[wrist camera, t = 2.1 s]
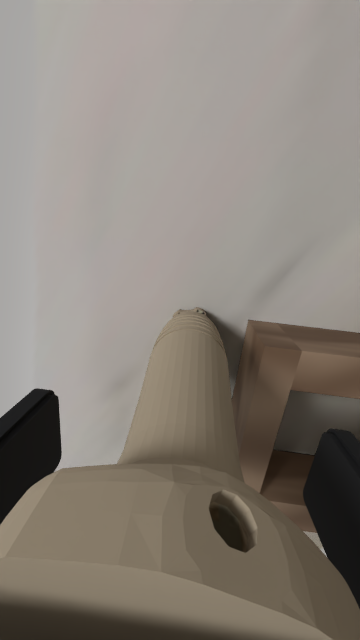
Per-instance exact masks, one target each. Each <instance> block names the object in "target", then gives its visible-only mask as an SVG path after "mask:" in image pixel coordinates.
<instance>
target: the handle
mask: <svg viewBox="0 0 360 640" xmlns="http://www.w3.org/2000/svg"><path fill="white" fill-rule="evenodd" d="M0 640H360V609H359V607H358V604H357V602H356V600H355V598H354V596H353V594H352V592H351V590H350V588H349V586H348V584H347V583H346V581H345V580H344V578H343V576H342V575H341V574H340V573H339V571H338V570H337V569H336V568H335V567H334V565H333V564H332V563H331V562H330V560H329V559H328V558H327V557H326V556H325V555H324V554H323V553H322V551H321V550H320V549H319V548H318V547H317V546H316V545H315V543H314V542H313V541H312V540H311V539H310V538H309V537H308V536H307V535H306V534H305V533H304V532H303V531H302V530H301V529H300V528H299V527H298V526H297V525H296V524H295V523H294V522H293V521H292V520H290V519H289V518H288V517H287V516H286V515H285V514H284V513H283V512H281V511H280V510H279V509H278V508H277V507H276V506H275V505H274V504H272V503H271V502H270V501H268V500H267V499H266V498H265V497H263V496H262V495H261V494H260V493H258V492H257V491H256V490H254V489H253V488H252V487H251V486H249V485H247V484H245V482H244V479H243V475H242V471H241V467H240V460H239V453H238V445H237V437H236V430H235V422H234V414H233V407H232V398H231V388H230V379H229V369H228V360H227V356H226V352H225V348H224V345H223V341H222V339H221V337H220V334H219V332H218V330H217V328H216V326H215V325H214V324H213V322H212V321H211V320H210V319H209V318H208V317H207V316H206V312H205V311H204V310H203V309H201V308H198V307H196V308H195V309H193V310H181V309H180V310H178V311H177V312H176V313H175V314H174V315H173V318H172V319H171V320H170V321H169V322H168V323H167V325H166V326H165V327H164V328H163V330H162V332H161V333H160V335H159V337H158V339H157V341H156V343H155V345H154V348H153V351H152V353H151V356H150V360H149V363H148V367H147V371H146V375H145V378H144V382H143V386H142V390H141V393H140V397H139V400H138V404H137V407H136V410H135V414H134V417H133V420H132V424H131V427H130V430H129V433H128V437H127V440H126V443H125V447H124V450H123V452H122V455H121V457H120V459H119V461H118V463H117V464H114V465H99V466H85V467H74V468H62V469H60V470H58V471H56V472H54V473H52V474H50V475H48V476H46V477H44V478H43V479H41V480H40V481H38V482H37V483H35V484H34V485H33V486H31V487H30V488H29V489H28V490H27V491H26V493H25V494H24V495H23V496H22V497H21V499H20V500H19V501H18V502H17V504H16V505H15V506H14V507H13V509H12V510H11V511H10V513H9V514H8V515H7V516H6V518H5V519H4V520H3V522H2V523H1V525H0Z"/></svg>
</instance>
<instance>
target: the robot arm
mask: <svg viewBox="0 0 360 640" xmlns="http://www.w3.org/2000/svg"><path fill="white" fill-rule="evenodd" d="M60 459H61V435H60V418H59V400H58V396H56V395H55V394H54V392H53V391H52V390H45V389H34V390H32V391H31V392H30V393H29V394H28V395H27V396H25V397H24V398H23V399H22V400H21V401H20V402H18V403H17V404H16V405H15V406H14V407H13V408H11V409H10V410H9V411H8V412H7V413H6V414H4V415H3V416H2V417H1V418H0V525H1V523H2V522H3V520H4V519H5V518H6V516H7V515H8V514H9V513H10V511H11V510H12V509H13V507H14V506H15V505H16V504H17V502H18V501H19V500H20V499H21V497H22V496H23V495H24V494H25V493H26V491H27V490H28V489H29V488H30V487H31V486H33V485H34V484H35V483H37V482H38V481H40V480H41V479H43V478H44V477H46V476H48V475H50V474H52V473H53V472H54V471H55V469H56V468H57V466H58V464H59V462H60ZM303 498H304V502H305V505H306V507H307V509H308V512H309V514H310V517H311V519H312V521H313V524H314V526H315V529H316V531H317V533H318V536H319V538H320V541H321V543H322V545H323V548H324V550H325V553H326V555H327V557H328V559H329V560H330V562H331V563H332V564H333V565H334V567H335V568H336V569H337V570H338V571H339V573H340V574H341V575H342V576H343V578H344V580H345V581H346V583H347V584H348V586H349V588H350V590H351V592H352V594H353V596H354V598H355V600H356V602H357V604H358V607H359V609H360V442H359V441H358V440H357V439H356V437H355V436H354V435H353V434H352V433H351V432H349V431H346V430H338V429H329V430H328V431H327V432H324V433H323V434H322V437H321V440H320V443H319V445H318V448H317V451H316V454H315V457H314V460H313V463H312V466H311V468H310V471H309V474H308V477H307V480H306V483H305V486H304V489H303Z"/></svg>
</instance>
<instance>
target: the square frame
mask: <svg viewBox="0 0 360 640" xmlns="http://www.w3.org/2000/svg"><path fill="white" fill-rule="evenodd" d="M290 390H295V391H302V392H310V393H318V394H325V395H333V396H341V397H349V398H356V399H360V333H355V332H346V331H338V330H329V329H321V328H313V327H304V326H296V325H287V324H279V323H271V322H262V321H254V320H248V325H247V329H246V334H245V339H244V344H243V349H242V354H241V358H240V363H239V368H238V373H237V378H236V383H235V387H234V392H233V397H232V407H233V414H234V422H235V430H236V437H237V445H238V453H239V460H240V467H241V471H242V475H243V479H244V482H245V484H247V485H249V486H251V487H252V488H253V489H254V490H256V491H257V492H258V493H260V494H261V495H262V496H263V497H265V498H266V499H267V500H268V501H270V502H271V503H272V504H274V505H275V506H276V507H277V508H278V509H279V510H280V511H281V512H283V513H284V514H285V515H286V516H287V517H288V518H289V519H290V520H292V521H293V522H294V523H295V524H296V525H297V526H298V527H299V528H300V529H301V530H302V531H308V532H315V533H317V531H316V529H315V526H314V524H313V521H312V519H311V517H310V514H309V512H308V509H307V507H306V505H305V502H304V498H303V489H304V486H305V483H306V480H307V477H308V474H309V471H310V468H311V466H312V463H313V460H314V457H315V456H313V455H306V454H299V453H292V452H284V451H277V450H273V447H274V444H275V440H276V437H277V434H278V430H279V427H280V423H281V420H282V417H283V413H284V410H285V407H286V403H287V400H288V397H289V393H290Z"/></svg>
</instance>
